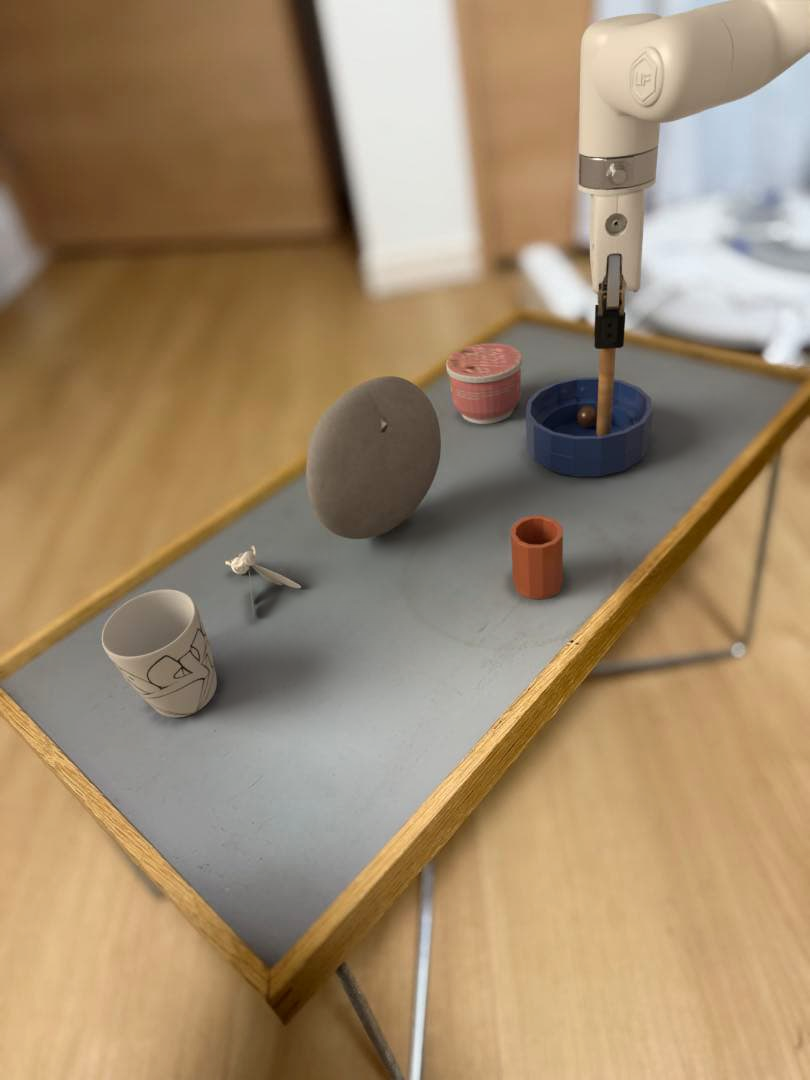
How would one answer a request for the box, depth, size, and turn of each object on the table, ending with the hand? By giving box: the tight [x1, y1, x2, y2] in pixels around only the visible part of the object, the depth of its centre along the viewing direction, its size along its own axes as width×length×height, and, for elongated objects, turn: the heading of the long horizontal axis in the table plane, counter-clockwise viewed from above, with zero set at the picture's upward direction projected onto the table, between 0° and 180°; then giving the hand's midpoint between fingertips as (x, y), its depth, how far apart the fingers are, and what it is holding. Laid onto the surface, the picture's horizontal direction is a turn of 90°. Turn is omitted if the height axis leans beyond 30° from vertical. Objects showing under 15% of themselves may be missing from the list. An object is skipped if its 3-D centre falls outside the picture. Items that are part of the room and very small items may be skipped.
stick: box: [596, 295, 617, 436], centre depth 84 cm, size 2×2×18 cm
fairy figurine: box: [225, 545, 302, 615], centre depth 79 cm, size 6×7×7 cm
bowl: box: [525, 376, 654, 477], centre depth 90 cm, size 15×15×6 cm
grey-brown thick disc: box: [305, 375, 442, 540], centre depth 78 cm, size 18×7×19 cm, turn 132°
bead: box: [577, 406, 597, 428], centre depth 93 cm, size 3×3×3 cm
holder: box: [510, 515, 564, 600], centre depth 71 cm, size 5×5×7 cm
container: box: [445, 342, 523, 425], centre depth 100 cm, size 10×10×8 cm
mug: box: [101, 588, 218, 719], centre depth 66 cm, size 11×8×10 cm
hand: (608, 341), depth 82 cm, fingers closed on stick, 1 cm apart
